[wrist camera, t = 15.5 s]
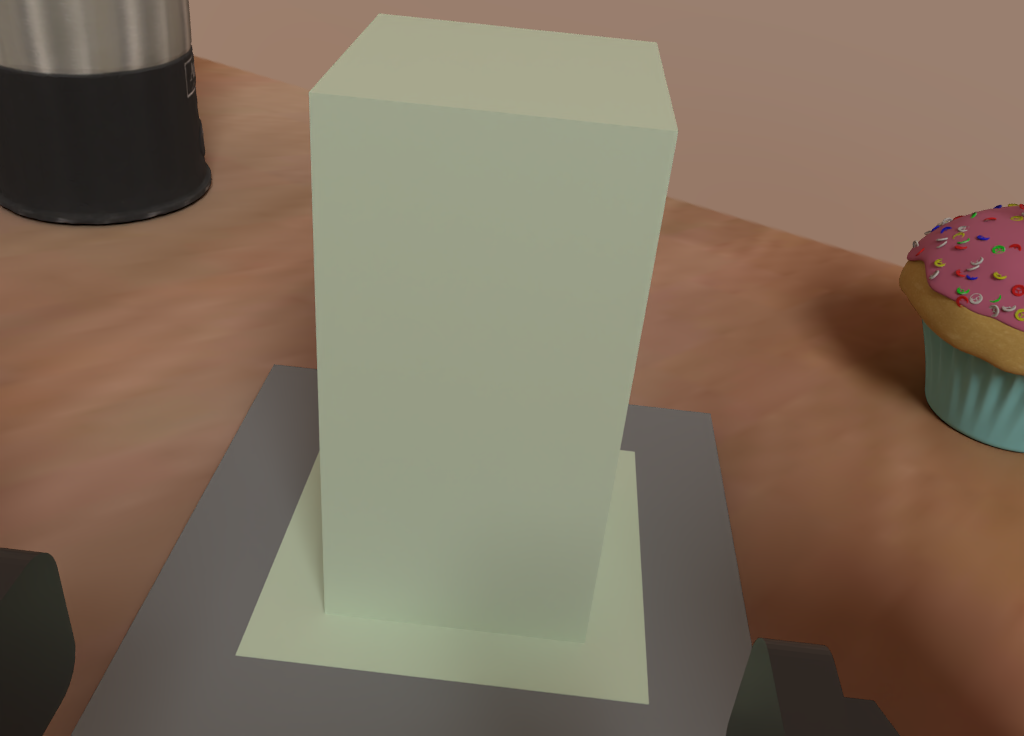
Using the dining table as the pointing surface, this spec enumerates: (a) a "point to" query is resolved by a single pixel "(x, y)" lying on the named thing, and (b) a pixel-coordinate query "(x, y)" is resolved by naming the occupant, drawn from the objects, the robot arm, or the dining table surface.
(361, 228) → the sage block
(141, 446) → the dining table surface
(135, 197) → the milk frother
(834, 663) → the robot arm
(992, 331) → the cupcake
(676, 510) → the slate mat
